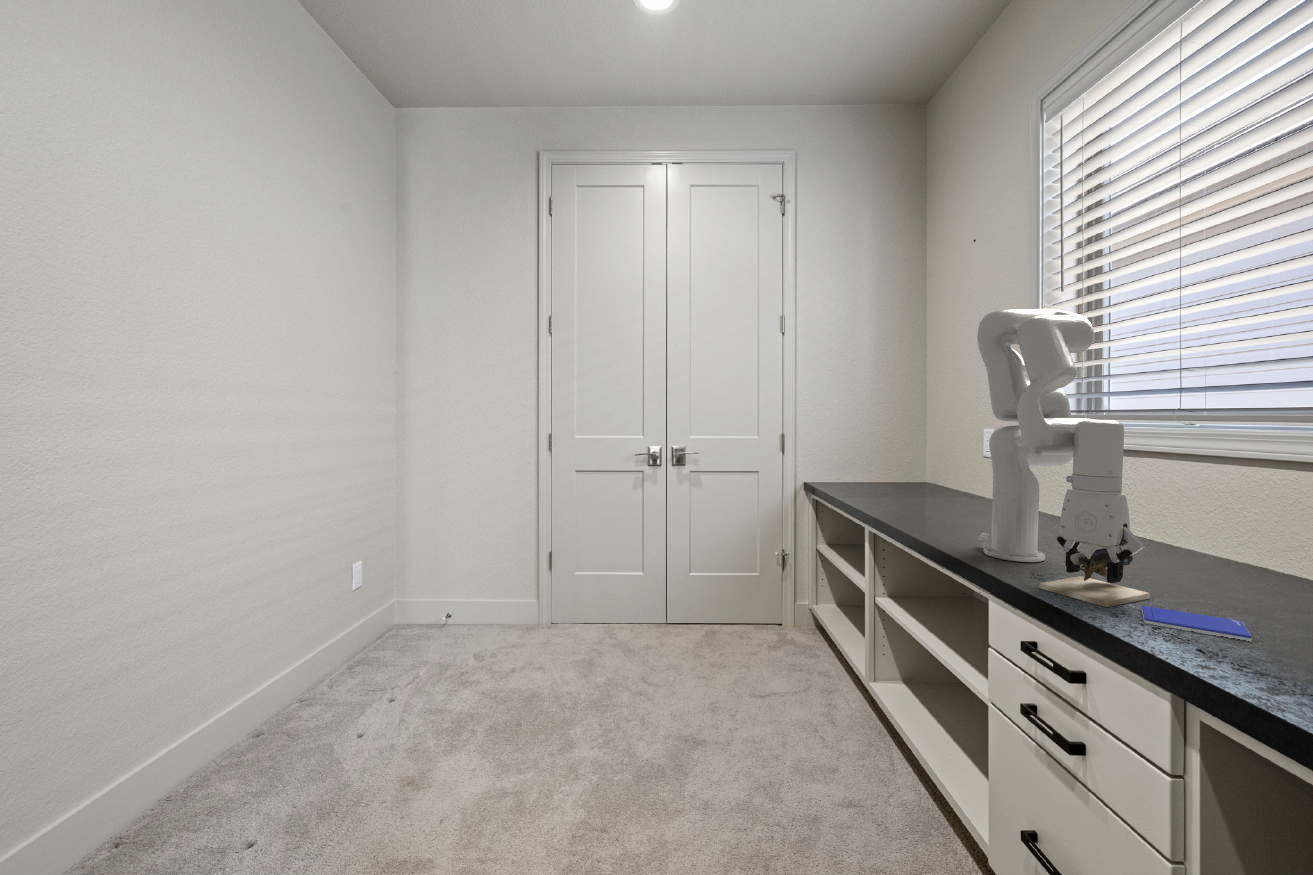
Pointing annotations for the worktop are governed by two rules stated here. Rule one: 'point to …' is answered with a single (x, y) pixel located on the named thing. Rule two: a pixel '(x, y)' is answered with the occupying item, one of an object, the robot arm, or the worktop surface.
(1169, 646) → the worktop surface
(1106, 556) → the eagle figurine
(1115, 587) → the ash board
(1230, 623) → the hard drive
